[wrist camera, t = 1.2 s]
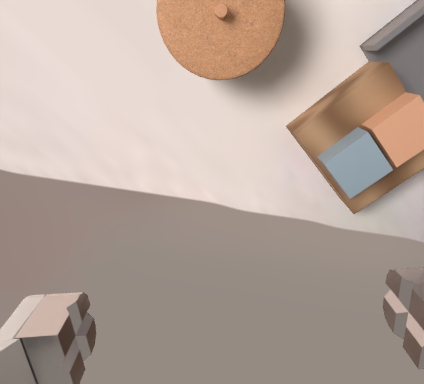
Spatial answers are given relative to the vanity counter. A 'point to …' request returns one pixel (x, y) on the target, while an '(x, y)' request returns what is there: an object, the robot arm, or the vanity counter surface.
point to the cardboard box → (353, 126)
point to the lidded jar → (220, 34)
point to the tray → (402, 47)
